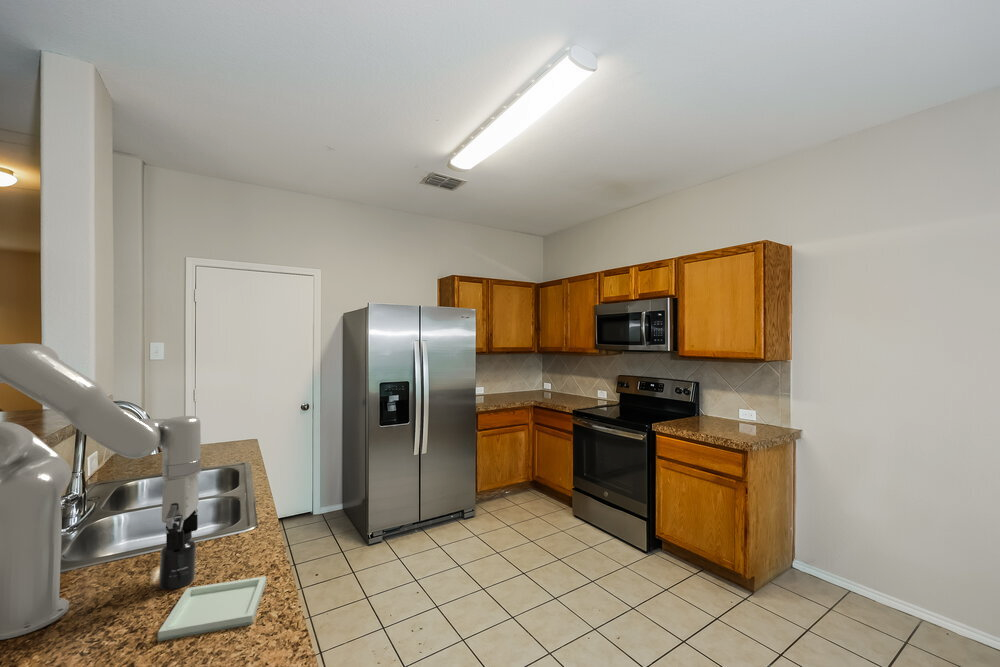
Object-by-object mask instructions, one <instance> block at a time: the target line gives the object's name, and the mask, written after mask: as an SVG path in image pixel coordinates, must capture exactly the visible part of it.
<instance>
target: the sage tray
mask: <svg viewBox="0 0 1000 667" xmlns="http://www.w3.org/2000/svg"><path fill="white" fill-rule="evenodd" d="M266 585H267V575H265V576H259V577H251V578H245V579H244V578H243V579H238V580H232V581H230V580H229V581H223V582H219V583H211V584H206V585H200V586H199V585H197V586H192V587H187V588H186V589H185V591H184V592H183V594H182V595H181V597H180V598H179V600H178V602H177V603H176V604H175V606H174V607H173V609H172V610H171V611H170V613H169V615H168V616H167V618H166V620H165V621H164V622H163V624H162V625H161V627H160V628H159V630H158V631H157V642H163V641H169V640H173V639H178V638H186V637H190V636H195V635H201V634H208V633H211V632H218V631H224V630H229V629H234V628H238V627H244V626H245V627H246V626H251V625H253V624H254V621H255V617H256V614H257V611H258V608H259V605H260V603H261V599H262V596H263V594H264V590H265V588H266Z"/></svg>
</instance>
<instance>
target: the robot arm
mask: <svg viewBox="0 0 1000 667" xmlns="http://www.w3.org/2000/svg"><path fill="white" fill-rule="evenodd" d="M0 384H6V385H8V386H10V387H12V388H13V389H15V390H17V391H18V392H20V393H22V394H24V395H26V396H27V397H29V398H30V399H32V400H34V401H35V402H37V403H39V404H40V405H43V406H44V407H45V408H47V409H49V410H50V411H53V412H54V413H55V414H58V415H59V416H61V417H62V418H63V419H64V420H65V421H66V422H67V423H69V424H71V425H72V426H73V427H75V428H76V429H77V430H78V431H80V432H82V433H83V434H84V435H86V436H87V437H89V438H90V439H91V440H92V441H94V442H96V443H98V444H99V445H101V446H104V448H107V449H109V450H110V451H112V452H114V453H116V454H117V455H119V456H121V457H124V458H127V459H132V460H133V459H141V458H145V457H147V456H149V455H151V454H152V453H154V452H155V451H156V449H157V448H159V447H160V448H161V460H162V461H161V464H162V465H161V467H162V468H161V470H162V472H161V473H162V479H163V480H164V482H163V488H162V500H161V522H162V523H164V524H165V529H166V530H165V535H166V536H165V539H166V541H165V543H166V546H167V550H175V549H181V548H183V547H184V530H182V529H191V530H192V532H196V531H197V530H198V526H199V524H198V522H199V521H198V518H199V517H198V505H199V494H200V493H199V479H198V478H199V476H198V474H200V473H201V472H202V461H201V460H202V458H201V457H202V456H201V455H202V451H201V450H202V449H201V448H202V447H201V446H202V445H201V444H202V441H201V439H202V438H201V437H202V436H201V420H200V418H198V417H197V416H194V415H184V416H183V415H182V416H175V417H170V418H141V419H140V418H139V419H138V418H136V417H135V416H133V415H132V414H130V413H129V412H127V411H125V409H122V408H121V407H120V406H119V405H118V404H116V403H115V402H114V401H113V400H112V399H111V398H110V397H109V396H108V394H107V393H106V392H105V389H103V388H102V386H100V385H99V384H98V383H97V382H95V380H92V379H91V378H90V377H87V376H86V375H84V374H83V373H81V372H80V371H78V370H76V369H75V368H73V367H71V366H70V365H68V364H66V363H65V362H64V361H62V360H61V359H60V358H59V356H58V354H57V353H56V352H55V351H54V350H53V349H52V348H51V347H48V346H46V345H44V344H41V343H33V342H31V343H30V342H28V343H27V342H26V343H25V342H24V343H23V342H21V343H14V344H13V343H12V344H0ZM72 477H73V471H72V467H71V465H70V464H69V463H68V462H67V461H66V460H65V458H63V456H61V455H60V454H59V453H57V452H56V451H55V450H54V449H53V448H51V447H50V446H49V445H48V444H46V443H45V442H44V441H43V440H42V439H41V438H40V437H38V436H37V434H35V433H33V432H32V431H31V430H30V429H28V428H26V427H25V426H22V425H21V424H18V423H14V422H8V421H0V641H2V640H9V639H12V638H17V637H20V636H24V635H26V634H29V633H32V632H35V631H37V630H40V629H42V628H44V627H47V626H48V625H50V624H53V623H54V622H56V621H58V620H59V619H60V618H62V617H63V616H64V615H65V614H66V613H68V611H69V609H70V601H69V600H68V599H65V598H62V597H60V591H61V590H60V587H61V586H60V585H61V564H62V563H61V560H62V556H61V555H62V528H63V526H62V524H63V520H62V519H63V518H62V517H63V516H62V515H63V514H62V495H63V492H64V491H65V490H66V488H67V487H68V486H69V484H70V483H71V480H72ZM177 523H178V524H177Z"/></svg>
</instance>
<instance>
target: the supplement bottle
mask: <svg viewBox="0 0 1000 667" xmlns="http://www.w3.org/2000/svg"><path fill="white" fill-rule="evenodd" d="M182 530H184V547H183V548H181V549H175V550H167V546H166V545H164V546H163V547H162V549H161V551H160V557H159V558H160V560H159V561H160V562H159V580H158V581H159V582H158V586H159V588H160V589H161V590H163V591H174V590H178V589H182V588H185V587H187V586H189V585H190V584H191V583H192V582H193V581H194V580H195V574H196V573H195V570H196V553H197V544H196V541H194V540H192V537H193V531H192V530H191V529H182Z"/></svg>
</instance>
